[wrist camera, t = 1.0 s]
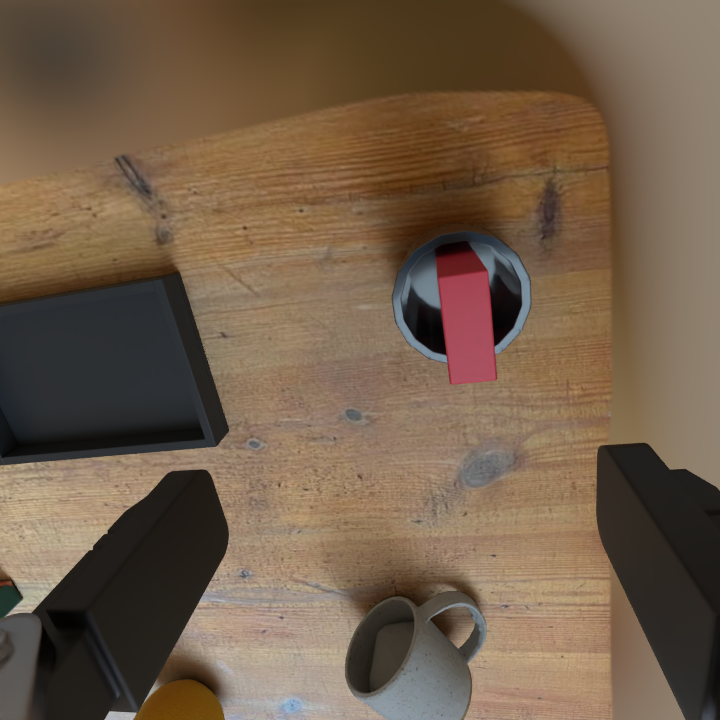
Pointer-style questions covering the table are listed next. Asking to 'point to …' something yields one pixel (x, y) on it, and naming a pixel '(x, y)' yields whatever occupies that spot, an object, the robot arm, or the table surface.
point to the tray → (105, 374)
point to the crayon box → (8, 598)
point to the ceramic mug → (413, 660)
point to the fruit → (181, 703)
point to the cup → (421, 293)
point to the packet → (466, 313)
